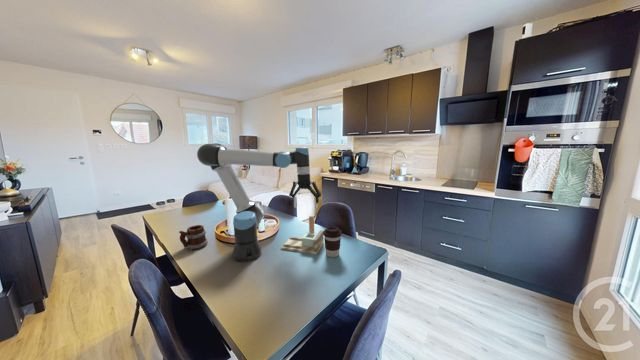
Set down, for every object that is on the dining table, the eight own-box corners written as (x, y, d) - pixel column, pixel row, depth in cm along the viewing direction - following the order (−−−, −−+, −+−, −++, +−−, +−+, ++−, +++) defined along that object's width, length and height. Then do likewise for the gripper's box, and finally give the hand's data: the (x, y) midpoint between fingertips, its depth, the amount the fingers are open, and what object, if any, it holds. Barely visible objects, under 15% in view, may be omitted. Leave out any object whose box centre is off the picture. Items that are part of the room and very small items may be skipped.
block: (301, 246, 126) (301, 238, 125) (306, 240, 134) (306, 232, 133) (314, 248, 124) (314, 239, 123) (319, 242, 132) (318, 234, 131)
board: (280, 249, 127) (280, 235, 126) (290, 238, 140) (290, 226, 139) (316, 254, 121) (316, 240, 119) (323, 243, 134) (323, 230, 133)
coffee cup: (340, 259, 115) (340, 233, 112) (322, 258, 117) (321, 231, 114) (342, 250, 124) (342, 226, 122) (325, 249, 126) (325, 224, 124)
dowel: (308, 239, 139) (308, 217, 137) (310, 237, 142) (309, 215, 140) (313, 239, 138) (313, 217, 136) (315, 237, 141) (314, 215, 139)
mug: (213, 243, 135) (207, 221, 130) (191, 257, 123) (184, 234, 119) (202, 239, 141) (195, 218, 136) (180, 252, 129) (172, 230, 124)
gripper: (281, 174, 130) (284, 208, 134) (321, 174, 122) (323, 210, 126) (287, 172, 137) (290, 204, 141) (325, 172, 129) (327, 206, 133)
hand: (305, 207), depth 133 cm, fingers open, 13 cm apart
